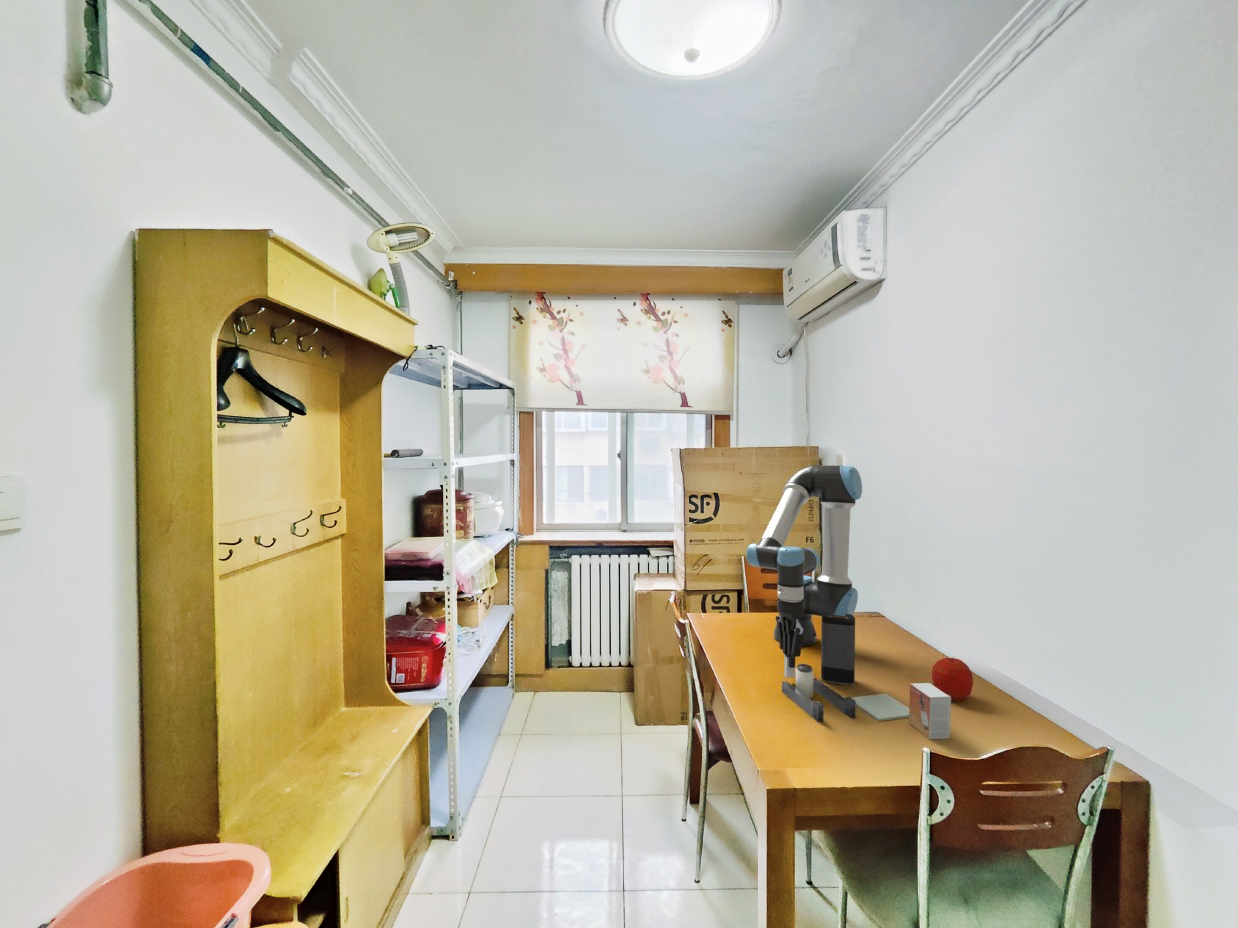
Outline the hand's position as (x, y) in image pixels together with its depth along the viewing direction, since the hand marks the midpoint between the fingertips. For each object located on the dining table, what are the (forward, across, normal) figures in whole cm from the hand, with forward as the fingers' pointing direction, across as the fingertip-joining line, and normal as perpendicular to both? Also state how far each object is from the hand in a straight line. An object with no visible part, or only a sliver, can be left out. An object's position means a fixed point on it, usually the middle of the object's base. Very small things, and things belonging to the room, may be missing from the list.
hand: (789, 676), depth 162 cm
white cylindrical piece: (+2, +8, 0) cm, 8 cm away
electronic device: (+2, +2, +15) cm, 15 cm away
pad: (+2, +20, +16) cm, 26 cm away
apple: (+2, +19, +40) cm, 44 cm away
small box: (+2, +33, +19) cm, 38 cm away
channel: (+2, +14, 0) cm, 14 cm away
